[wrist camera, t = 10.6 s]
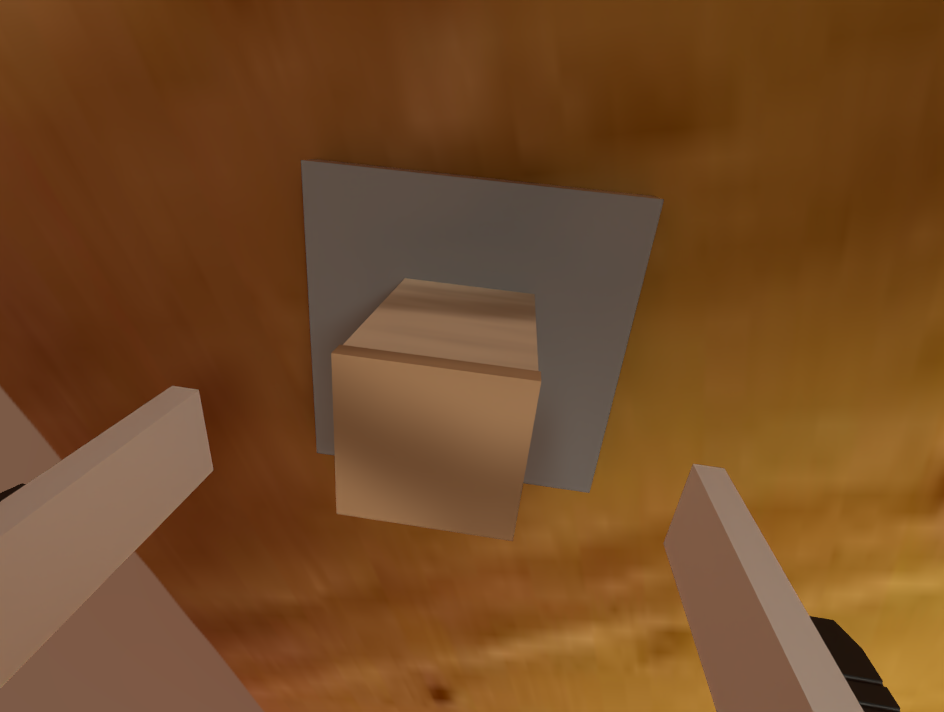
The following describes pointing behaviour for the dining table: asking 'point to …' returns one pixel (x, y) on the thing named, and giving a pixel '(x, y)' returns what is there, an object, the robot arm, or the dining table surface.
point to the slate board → (486, 281)
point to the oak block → (437, 408)
